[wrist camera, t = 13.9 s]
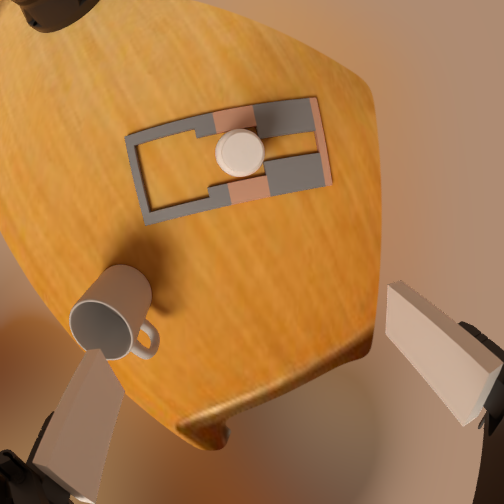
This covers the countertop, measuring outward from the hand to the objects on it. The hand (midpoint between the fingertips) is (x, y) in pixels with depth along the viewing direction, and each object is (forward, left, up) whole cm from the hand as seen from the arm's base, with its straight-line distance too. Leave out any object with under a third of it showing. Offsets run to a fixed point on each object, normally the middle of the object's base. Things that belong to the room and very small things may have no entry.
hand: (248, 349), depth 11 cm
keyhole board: (-8, +2, -27) cm, 28 cm away
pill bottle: (-8, +3, -27) cm, 28 cm away
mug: (+8, -16, -27) cm, 32 cm away
